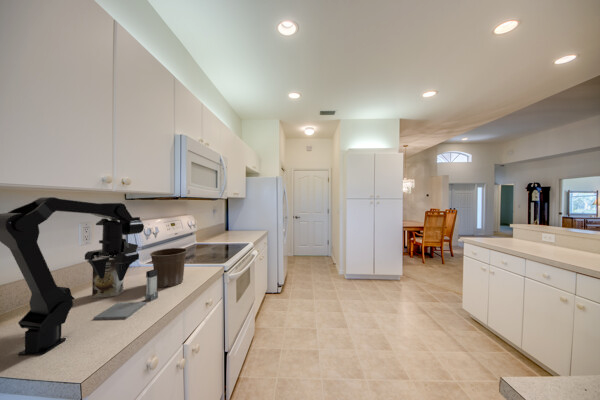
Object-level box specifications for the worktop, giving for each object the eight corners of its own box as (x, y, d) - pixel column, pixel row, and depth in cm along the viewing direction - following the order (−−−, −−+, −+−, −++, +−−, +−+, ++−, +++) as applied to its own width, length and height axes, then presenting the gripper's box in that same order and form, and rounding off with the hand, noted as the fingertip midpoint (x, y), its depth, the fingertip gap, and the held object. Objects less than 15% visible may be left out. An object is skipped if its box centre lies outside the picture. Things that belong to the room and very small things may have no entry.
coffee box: (91, 298, 93) (91, 260, 93) (100, 292, 99) (100, 256, 100) (116, 296, 96) (116, 259, 96) (124, 290, 102) (124, 255, 102)
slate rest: (126, 318, 78) (126, 316, 78) (93, 319, 77) (93, 317, 77) (146, 303, 89) (146, 301, 89) (117, 304, 88) (117, 302, 88)
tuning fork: (151, 301, 91) (151, 272, 91) (145, 300, 92) (145, 271, 92) (158, 298, 94) (158, 270, 94) (152, 296, 95) (152, 269, 95)
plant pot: (168, 291, 101) (168, 256, 101) (141, 287, 105) (141, 254, 105) (194, 279, 117) (194, 248, 117) (169, 276, 121) (169, 247, 121)
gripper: (152, 235, 87) (151, 274, 86) (116, 233, 91) (115, 271, 91) (123, 239, 76) (122, 284, 75) (84, 236, 80) (82, 279, 80)
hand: (111, 279), depth 81 cm, fingers open, 9 cm apart
